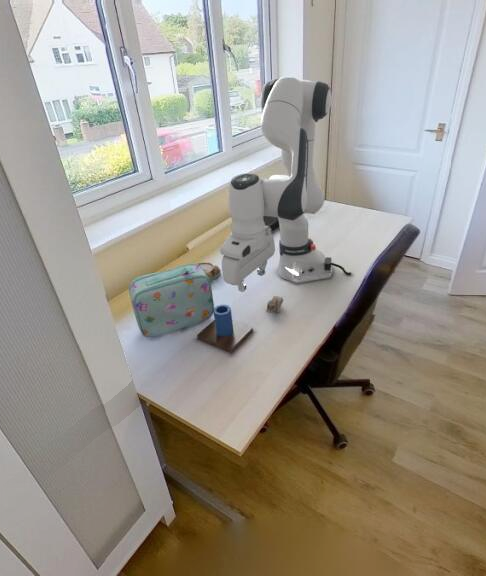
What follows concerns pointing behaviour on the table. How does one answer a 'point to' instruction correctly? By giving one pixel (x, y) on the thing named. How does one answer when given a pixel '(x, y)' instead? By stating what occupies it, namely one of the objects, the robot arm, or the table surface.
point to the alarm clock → (210, 270)
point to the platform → (225, 343)
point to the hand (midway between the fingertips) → (252, 282)
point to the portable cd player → (271, 222)
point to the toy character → (274, 304)
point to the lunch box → (171, 300)
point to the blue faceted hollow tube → (223, 320)
